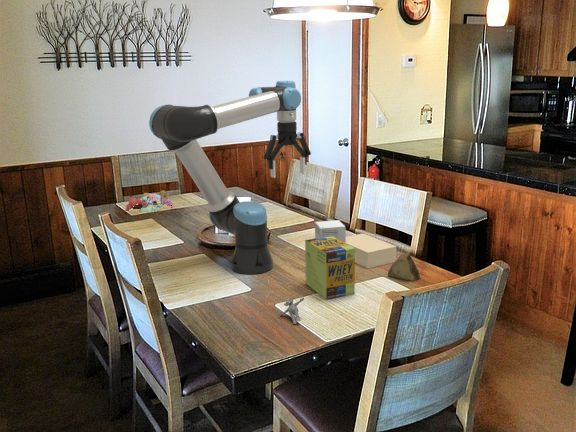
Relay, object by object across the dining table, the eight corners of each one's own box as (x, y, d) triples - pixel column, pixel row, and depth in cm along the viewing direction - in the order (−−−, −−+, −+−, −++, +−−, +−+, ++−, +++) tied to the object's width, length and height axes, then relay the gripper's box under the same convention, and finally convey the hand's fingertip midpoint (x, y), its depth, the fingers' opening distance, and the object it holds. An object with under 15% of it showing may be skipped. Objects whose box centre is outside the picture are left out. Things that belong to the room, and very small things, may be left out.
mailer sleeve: (395, 261, 206) (396, 246, 204) (367, 268, 200) (367, 252, 198) (363, 247, 223) (363, 233, 221) (336, 253, 217) (336, 238, 215)
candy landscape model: (130, 205, 304) (129, 189, 301) (174, 203, 306) (173, 187, 304) (122, 217, 280) (121, 199, 277) (170, 215, 282) (169, 197, 280)
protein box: (326, 300, 174) (325, 252, 170) (305, 283, 188) (304, 239, 184) (355, 294, 178) (355, 247, 174) (332, 278, 192) (332, 235, 188)
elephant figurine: (279, 327, 157) (272, 306, 164) (290, 335, 160) (284, 314, 167) (303, 308, 155) (296, 288, 162) (315, 317, 158) (307, 297, 165)
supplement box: (346, 272, 197) (346, 226, 192) (320, 274, 195) (320, 228, 191) (339, 263, 206) (339, 219, 201) (315, 265, 204) (314, 221, 200)
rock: (379, 270, 192) (397, 275, 183) (389, 249, 193) (408, 253, 185) (399, 283, 196) (418, 288, 188) (408, 262, 198) (427, 266, 190)
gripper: (262, 124, 208) (264, 180, 214) (319, 119, 220) (319, 172, 226) (253, 122, 215) (255, 177, 220) (309, 118, 226) (309, 170, 232)
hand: (288, 175), depth 223 cm, fingers open, 13 cm apart
